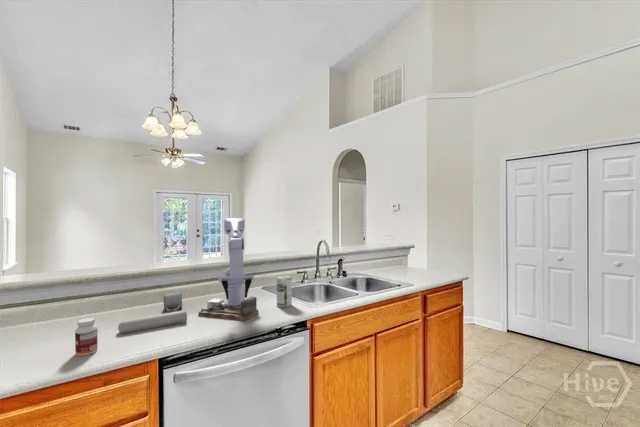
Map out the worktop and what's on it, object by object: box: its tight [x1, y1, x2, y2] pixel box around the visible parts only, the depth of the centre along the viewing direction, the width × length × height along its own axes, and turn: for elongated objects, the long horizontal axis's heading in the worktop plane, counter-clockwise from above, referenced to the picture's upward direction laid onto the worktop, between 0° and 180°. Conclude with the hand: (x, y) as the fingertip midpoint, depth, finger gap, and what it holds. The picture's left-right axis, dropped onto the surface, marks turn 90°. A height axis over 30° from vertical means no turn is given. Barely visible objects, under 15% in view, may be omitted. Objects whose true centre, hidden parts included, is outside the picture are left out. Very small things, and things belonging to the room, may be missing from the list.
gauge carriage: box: [206, 297, 228, 310], centre depth 153 cm, size 8×9×4 cm
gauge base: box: [197, 296, 259, 322], centre depth 153 cm, size 24×12×8 cm, turn 73°
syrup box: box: [276, 275, 293, 309], centre depth 166 cm, size 6×6×14 cm
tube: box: [117, 309, 188, 334], centre depth 136 cm, size 5×5×25 cm
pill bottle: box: [74, 317, 99, 357], centre depth 112 cm, size 6×6×11 cm
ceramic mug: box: [163, 291, 183, 313], centre depth 161 cm, size 11×8×8 cm
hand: (236, 298), depth 141 cm, fingers open, 7 cm apart
